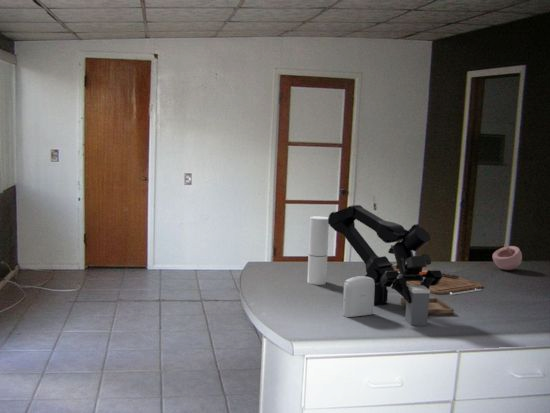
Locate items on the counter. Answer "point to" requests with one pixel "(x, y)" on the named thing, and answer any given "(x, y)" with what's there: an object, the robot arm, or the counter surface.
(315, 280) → the cylindrical container
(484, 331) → the counter surface
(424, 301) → the grey upright rectangular prism
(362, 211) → the robot arm
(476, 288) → the chopping board
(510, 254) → the pink round bowl
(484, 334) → the counter surface
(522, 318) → the counter surface
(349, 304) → the white tombstone-shaped block
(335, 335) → the counter surface
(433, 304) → the walnut tray
